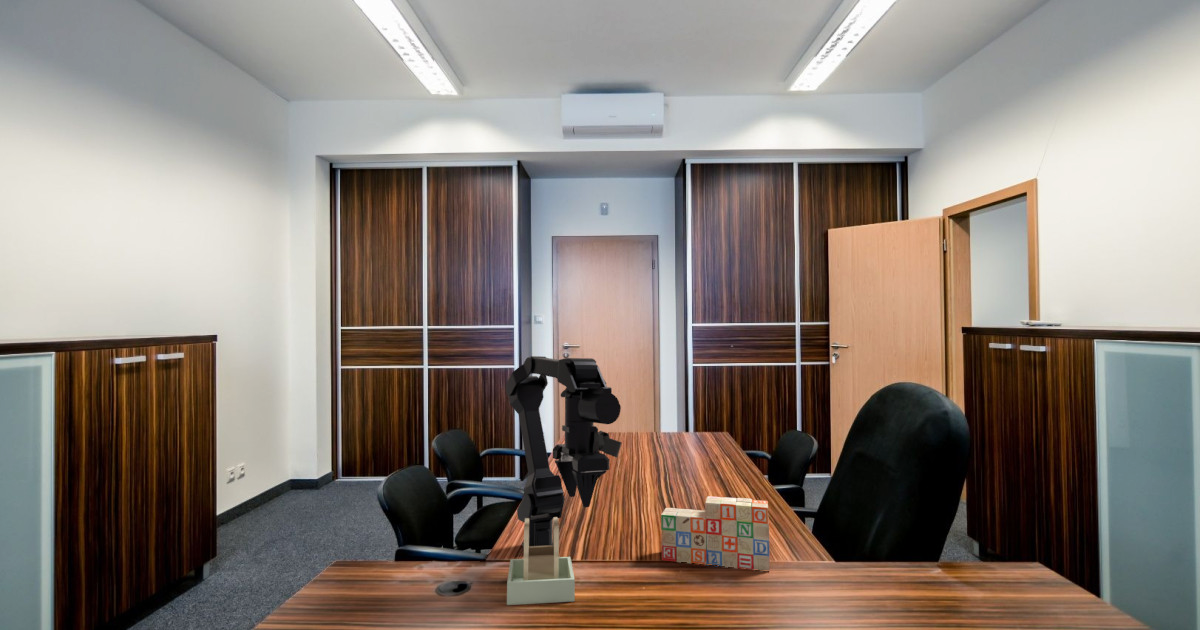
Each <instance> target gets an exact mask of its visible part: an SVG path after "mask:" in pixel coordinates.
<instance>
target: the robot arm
mask: <svg viewBox="0 0 1200 630" xmlns="http://www.w3.org/2000/svg"><path fill="white" fill-rule="evenodd" d="M532 374H533V375H532ZM535 374H536V375H535ZM537 375H539V376H537ZM547 377H550V378H555V379H556V380H557V382H558V383H559V384H561V385H563V386H564V387H565V388H564V390H563V391H562V392H561V393H560V398H564V425H562V426H561V431H563V432H564V443H561V444H560V443H559V444H558V443H557V444H556V445H555V446H554V447H553V448H552V459H554V463H555V465H556V468H557V470H558V472H559V474H560V475H559V474H556V475H555V474H554V473H553V472H552V470H551V468H550V463H549V457H548V456H549V455H548V451H547V446H546V440H545V435H544V431H543V424H542V418H541V413H540V408H541V404H542V402H543V400H544V391H545V389H546V387H547V386H548V384H549V382H548V378H547ZM505 392H506V395H507V397H508V400H509V401H508V403H509V405H510V407H512V408H513V410H514V411H515V412H516V413H517V414H518V419H519V424H520V431H521V437H522V443H523V444H522V445H523V449H524V455H525V461H526V462H525V463H526V467H527V472H528V473H527V474H528V476H527V479H526V481H525V485H524V487H523V498H522V500H521V501H520V503H519V505H518V507H517V509H516V514H517V519H518V521H520V522H522V523H525V518H529V546H550V545H553V517H558V519H562V516H563V515H562V514H563V511H564V506H565V500H566V499H565V492H564V489H563V485H564V486H565V489H566V491H567V493H568V496H569V497H570V498H575V497H576V491H578V495H579V497H580V501H581V503H582V504H581V505H582V506H583V508H590V507H591V506H590V505H591V502H592V500H593V499H592V498H593V495H594V491H595V488H596V484H597V481H598V480H599V478H600V477H602V475H605V474H606V473H607V471H610V459H609V457H608V456H607V455H609V456H612V457H613V458H614V457H615V458H618V456H619V452H620V450H621V447H622V442H621V441H618V440H616V439H613V438H611V437H610V434H609V433H608V432H607V431H606V432H605V431H603V430H599V428H598V427H597V426H596V425H594V423H595V424H602V425H611V424H614V423H615V422H616V421H617V420H618V418H619V417H620V414H621V408H622V406H621V404H620V401H619V399H618V397H617V396H616V395H614V394H613V393H612V387H611V386H607V382H606V380H605V379H604V377H603V374H602V372H601V370H600V367H599V366H598V365H597V360H596V359H594V358H590V357H589V358H588V357H587V358H582V357H565V358H560V359H556V358H549V357H546V356H539V355H538V356H536V355H535V356H534V355H533V356H527V357H526V359H525V361H524V362H523V364H521V365H520V366H519V367H517V368H516V369H515V370H513V371H512V372H511V374H510V376H509V378H508V379H507V382H506V385H505ZM602 452H603V453H602ZM560 476H561V477H560ZM562 481H563V485H562ZM521 546H522V548H524V542H521Z"/></svg>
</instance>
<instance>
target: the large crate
mask: <svg viewBox="0 0 1200 630" xmlns="http://www.w3.org/2000/svg"><path fill="white" fill-rule="evenodd" d="M509 560H510V561H509V567H508V575H507V582H506V606H514V605H533V604H549V603H551V604H553V603H554V604H555V603H567V602H568V603H569V602H575V600H576V599H575V598H576V597H575V596H576V595H575V592H576V591H575V589H576V588H575V587H576V584H575V583H576V582H575V581H576V579H575V574H574V568H573V563H572V559H571V556H559V579H544V580H523V574H524V558H514V559H511V558H510V559H509Z"/></svg>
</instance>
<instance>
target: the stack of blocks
mask: <svg viewBox="0 0 1200 630" xmlns="http://www.w3.org/2000/svg"><path fill="white" fill-rule="evenodd" d="M768 503H769V502H768V500H764V499H763V500H761V499H760V500H759V499H752V498H747V497H746V498H745V497H737V498H736V497H725V496H723V497H722V496H709V495H708V496H706V499H705V503H704V510H700V509H688V508H687V509H686V508H675V507H665V508H664V510H663V511H662V513H661V514H660V526H661V527H660V529H661V543H660V544H661V561H667V562H673V563H674V562H676V563H681V562H687V563H686V564H692V563H703V564H712V565H719V566H725V567H724V568H728V567H734V568H733V569H738V568H746V569H758V570H770V571H771V564H770V563H771V562H770V560H771V558H770V523H769V522H770V518H769V504H768Z"/></svg>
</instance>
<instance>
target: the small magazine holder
mask: <svg viewBox="0 0 1200 630" xmlns="http://www.w3.org/2000/svg"><path fill="white" fill-rule="evenodd" d="M523 523H524V522H523ZM552 542H553V545H550V546H529V518H525V523H524V526H523V543H524V547H523V559H524V574H523V580H544V579H559V557H560V553H559V552H560V548H559V547H560V524H559V518H558V517H553V524H552Z"/></svg>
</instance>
